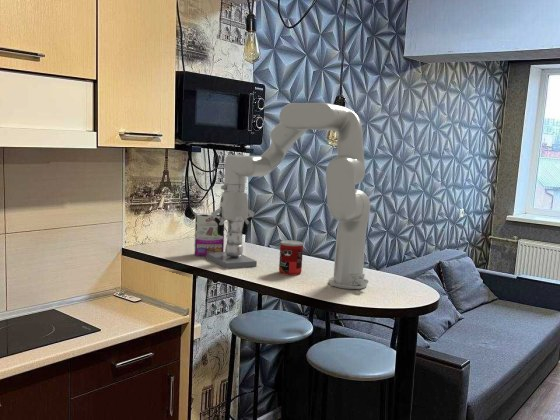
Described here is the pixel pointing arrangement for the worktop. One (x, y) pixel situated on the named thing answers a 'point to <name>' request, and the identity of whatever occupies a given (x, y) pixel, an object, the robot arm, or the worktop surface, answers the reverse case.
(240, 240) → the plastic bottle
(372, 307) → the worktop surface
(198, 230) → the candy bar box
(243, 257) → the slate board
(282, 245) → the canned food
